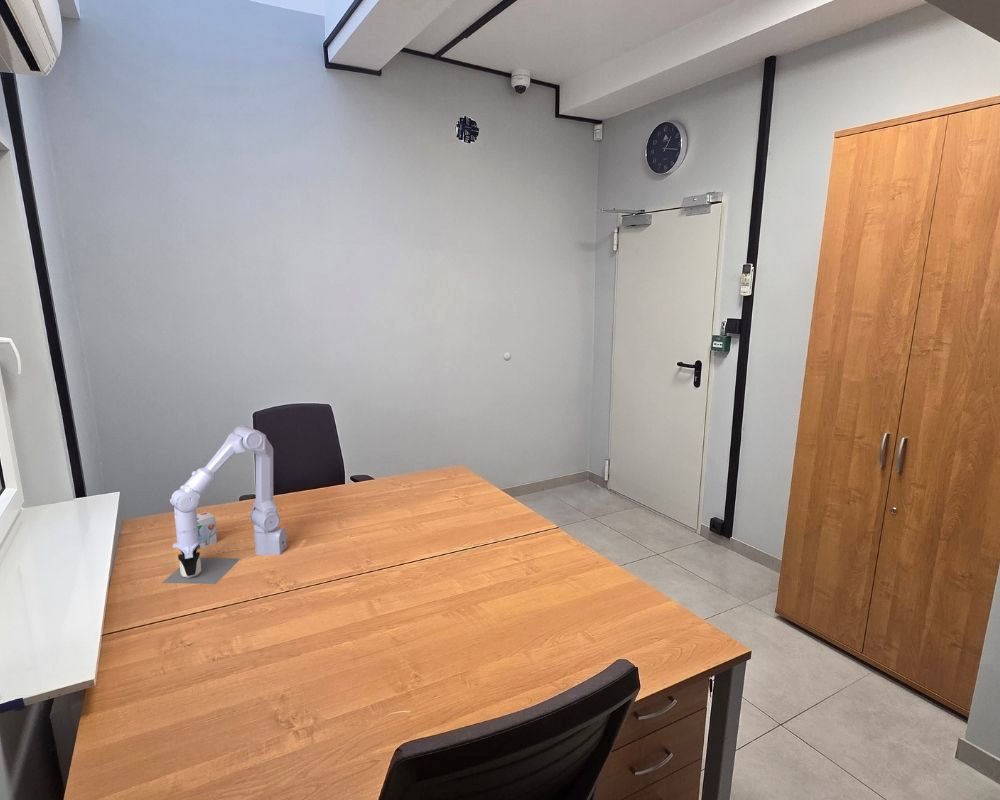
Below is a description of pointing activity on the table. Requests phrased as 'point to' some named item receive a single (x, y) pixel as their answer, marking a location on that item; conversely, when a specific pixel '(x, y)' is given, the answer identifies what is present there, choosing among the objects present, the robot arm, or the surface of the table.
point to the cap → (198, 568)
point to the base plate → (206, 571)
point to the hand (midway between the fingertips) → (190, 570)
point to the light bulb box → (206, 529)
